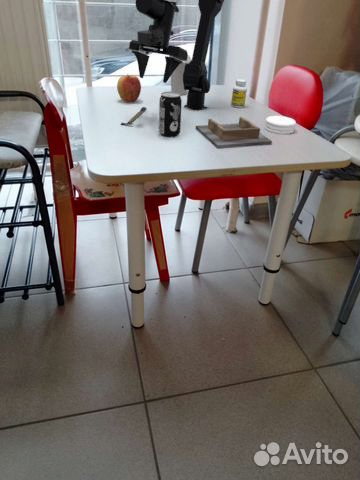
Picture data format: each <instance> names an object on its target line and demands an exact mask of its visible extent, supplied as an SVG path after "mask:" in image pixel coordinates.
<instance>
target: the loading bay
mask: <svg viewBox="0 0 360 480" xmlns="http://www.w3.org/2000/svg"><path fill="white" fill-rule="evenodd" d="M207 120H208V122H207V125H206V124H203V125H195V130H196V131H197V132H199V134H200V135H202V136H203V137H204V139H206V140H207V141H208V142H210V143H211V144H212V146H213V147H215V148H216V149H227V148H228V149H229V148H242V147H243V148H245V147H253V146H266V145H267V146H268V145H269V146H270V145H272V144H273V141H272V140H271V139H270V138H268V137H267V136H266V135H264V134H263V133H261V128H260V127H258V126H257V125H256V124H254V123H252V122H250V121H249V120H248V119H246V118H245V117H243V116H240V117H239V121H238V123H218V122H217V121H215V120H214V119H213V118H208V119H207Z"/></svg>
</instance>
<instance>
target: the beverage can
mask: <svg viewBox="0 0 360 480" xmlns="http://www.w3.org/2000/svg"><path fill="white" fill-rule="evenodd" d="M182 101H183V99H182V98H181V96H180V94H179V93H176V92H171V91H163V92H161V93H160V97H159V102H158V103H159V104H158V105H159V107H158V108H159V109H158V111H159V113H158V115H159V116H158V117H159V118H158V132H159V133H160V136H162V137H164V138H175V137H178V136H179V134H180V133H181V125H182V124H181V121H182V120H181V119H182V104H183V103H182Z"/></svg>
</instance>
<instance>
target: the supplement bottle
mask: <svg viewBox="0 0 360 480" xmlns="http://www.w3.org/2000/svg"><path fill="white" fill-rule="evenodd" d="M246 84H247V79H241V78H237V79H235V85H233V88H232V94H231V102H230V106H231V107H232V108H236V109H242V108H244V107H245V104H246V98H247V91H248V87H247V85H246Z"/></svg>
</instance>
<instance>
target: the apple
mask: <svg viewBox="0 0 360 480" xmlns="http://www.w3.org/2000/svg"><path fill="white" fill-rule="evenodd" d="M141 84H142V83H141V80H140V78H139V77H138V76H137V75H133V74H132V75H131V74H130V75H129V73H127V75H122V76H120V77H119V79H118V80H117V83H116V88H117V89H116V90H117V92H118V93H117V94H118V96H119V98H120V99H121V101H123V102H124V103H135V102H136V101H137V100H138V99H139V97H140V95H141V92H142V85H141Z"/></svg>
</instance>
